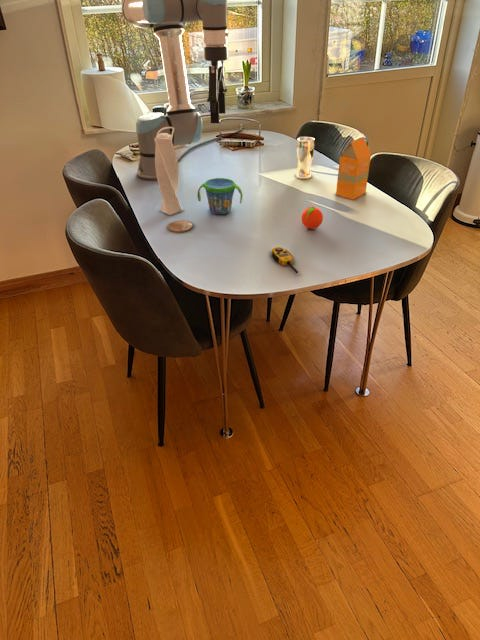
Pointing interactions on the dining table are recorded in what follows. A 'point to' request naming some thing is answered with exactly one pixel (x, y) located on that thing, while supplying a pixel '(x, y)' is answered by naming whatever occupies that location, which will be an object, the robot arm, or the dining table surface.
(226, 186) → the snack cup
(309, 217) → the clementine
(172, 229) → the cork coaster
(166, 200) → the skyscraper
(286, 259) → the yellow walkie talkie
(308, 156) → the beer glass
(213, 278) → the dining table surface
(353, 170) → the orange juice
